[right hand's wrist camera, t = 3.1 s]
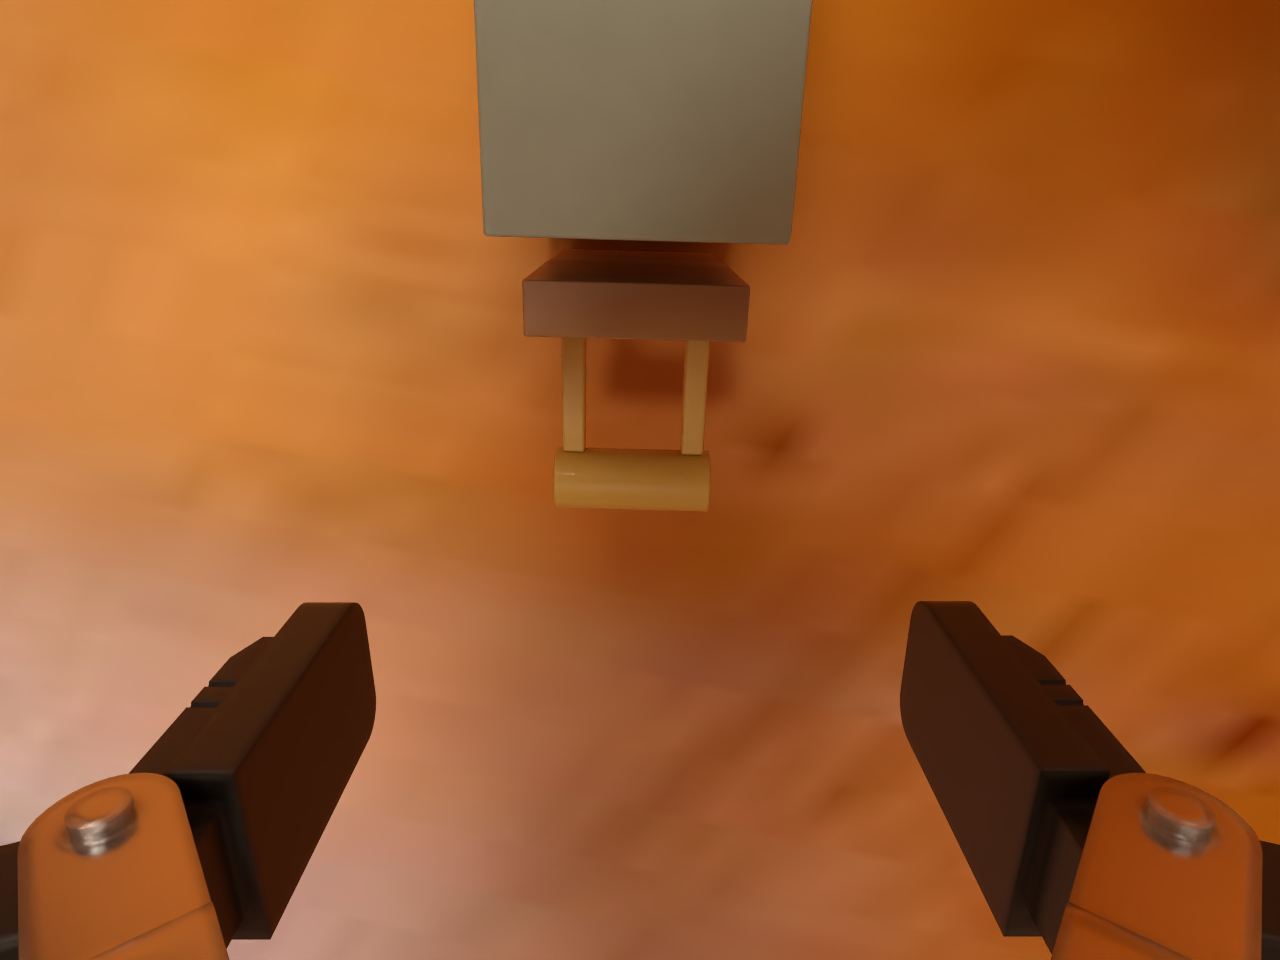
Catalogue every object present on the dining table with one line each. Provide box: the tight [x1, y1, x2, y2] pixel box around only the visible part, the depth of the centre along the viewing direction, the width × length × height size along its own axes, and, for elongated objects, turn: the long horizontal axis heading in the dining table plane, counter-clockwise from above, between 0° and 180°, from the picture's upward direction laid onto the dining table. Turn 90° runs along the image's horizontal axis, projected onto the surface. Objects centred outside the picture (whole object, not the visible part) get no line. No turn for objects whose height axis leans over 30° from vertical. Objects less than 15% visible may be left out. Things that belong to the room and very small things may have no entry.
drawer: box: [522, 249, 750, 512], centre depth 19 cm, size 22×5×9 cm, turn 178°
